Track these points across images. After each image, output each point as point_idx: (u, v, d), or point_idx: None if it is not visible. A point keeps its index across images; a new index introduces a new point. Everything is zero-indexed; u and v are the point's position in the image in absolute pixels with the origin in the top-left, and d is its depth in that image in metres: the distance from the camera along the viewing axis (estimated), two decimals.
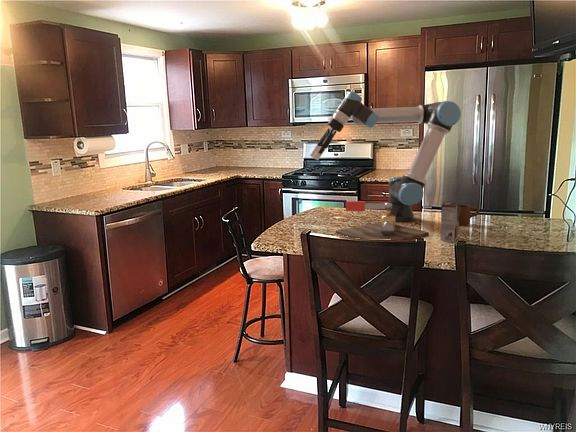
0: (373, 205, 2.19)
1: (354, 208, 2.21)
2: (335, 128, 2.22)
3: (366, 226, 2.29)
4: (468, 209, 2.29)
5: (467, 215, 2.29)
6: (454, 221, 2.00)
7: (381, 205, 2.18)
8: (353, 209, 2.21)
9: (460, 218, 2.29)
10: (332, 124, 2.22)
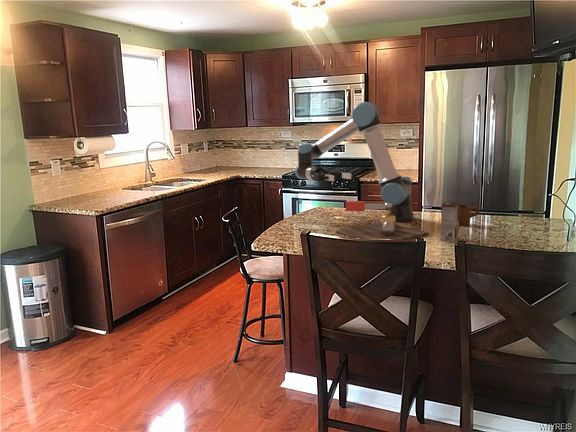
0: (373, 205, 2.19)
1: (354, 208, 2.21)
2: None
3: (366, 226, 2.29)
4: (468, 209, 2.29)
5: (467, 215, 2.29)
6: (454, 221, 2.00)
7: (381, 205, 2.18)
8: (353, 209, 2.21)
9: (460, 218, 2.29)
10: (314, 178, 2.42)
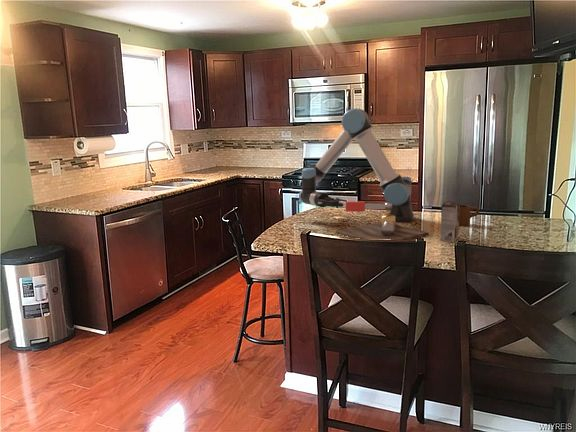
0: (373, 205, 2.19)
1: (354, 208, 2.20)
2: (318, 200, 2.38)
3: (366, 226, 2.29)
4: (468, 209, 2.29)
5: (467, 215, 2.29)
6: (454, 221, 2.00)
7: (381, 205, 2.18)
8: (353, 209, 2.20)
9: (460, 218, 2.29)
10: (318, 204, 2.40)
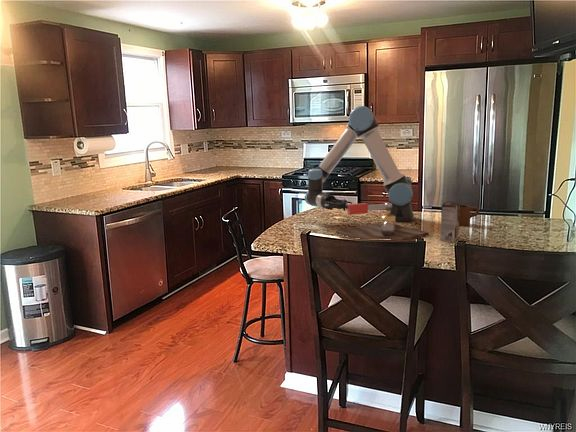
0: (375, 206, 2.16)
1: (357, 211, 2.14)
2: (324, 202, 2.32)
3: (366, 226, 2.29)
4: (468, 209, 2.29)
5: (467, 215, 2.29)
6: (454, 221, 2.00)
7: (382, 206, 2.17)
8: (356, 212, 2.14)
9: (460, 218, 2.29)
10: (324, 206, 2.33)
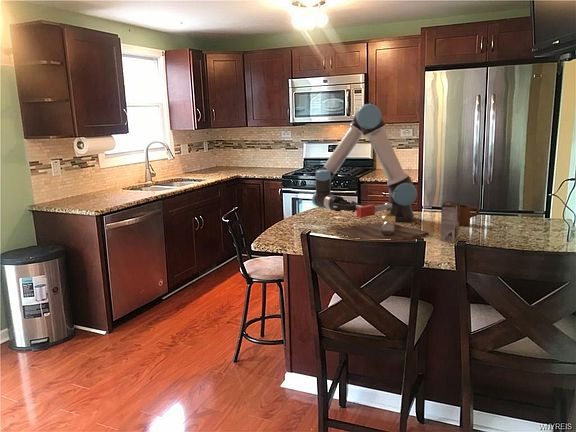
0: (379, 207, 2.14)
1: (367, 213, 2.08)
2: (333, 204, 2.26)
3: (366, 226, 2.29)
4: (468, 209, 2.29)
5: (467, 215, 2.29)
6: (454, 221, 2.00)
7: (385, 206, 2.16)
8: (366, 214, 2.08)
9: (460, 218, 2.29)
10: (333, 208, 2.28)
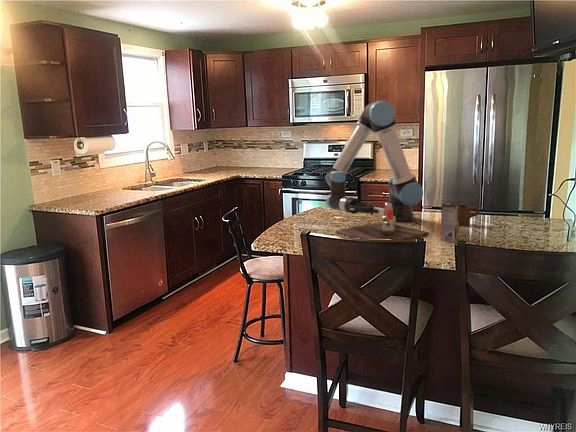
0: None
1: None
2: (349, 206, 2.20)
3: (366, 226, 2.29)
4: (468, 209, 2.29)
5: (467, 215, 2.29)
6: (454, 221, 2.00)
7: None
8: None
9: (460, 218, 2.29)
10: (349, 210, 2.21)
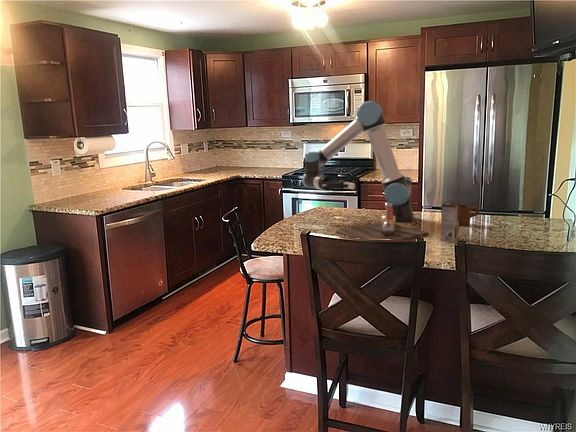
0: None
1: None
2: (322, 183, 2.35)
3: (366, 226, 2.29)
4: (468, 209, 2.29)
5: (467, 215, 2.29)
6: (454, 221, 2.00)
7: None
8: None
9: (460, 218, 2.29)
10: (322, 187, 2.36)
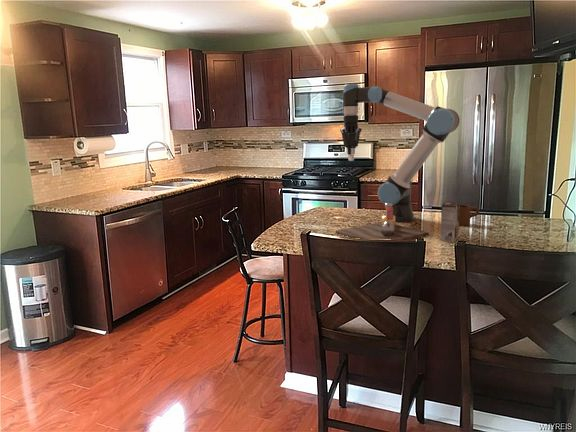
0: None
1: None
2: (345, 122, 2.38)
3: (366, 226, 2.29)
4: (468, 209, 2.29)
5: (467, 215, 2.29)
6: (454, 221, 2.00)
7: None
8: None
9: (460, 218, 2.29)
10: None
